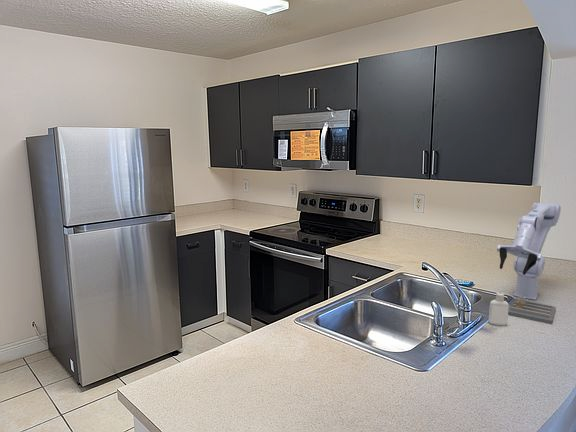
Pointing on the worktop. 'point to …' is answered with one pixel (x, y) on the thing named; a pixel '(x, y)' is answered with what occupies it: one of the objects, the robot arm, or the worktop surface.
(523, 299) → the grooved grey cube
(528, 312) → the switch board
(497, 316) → the eye dropper bottle
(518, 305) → the oak tab
